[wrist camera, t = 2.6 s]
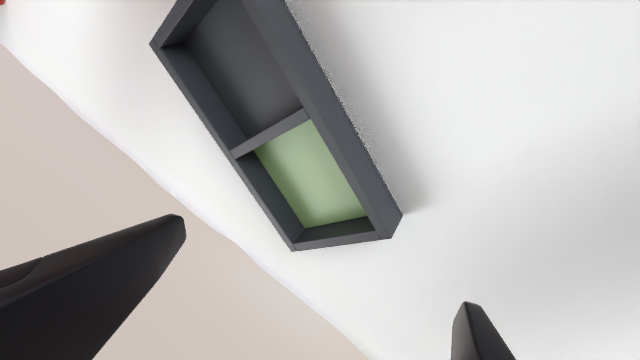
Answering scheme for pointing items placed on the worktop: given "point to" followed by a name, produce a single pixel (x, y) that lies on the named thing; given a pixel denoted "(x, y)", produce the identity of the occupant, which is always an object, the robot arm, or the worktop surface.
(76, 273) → the robot arm
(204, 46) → the divided grey tray
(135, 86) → the worktop surface
